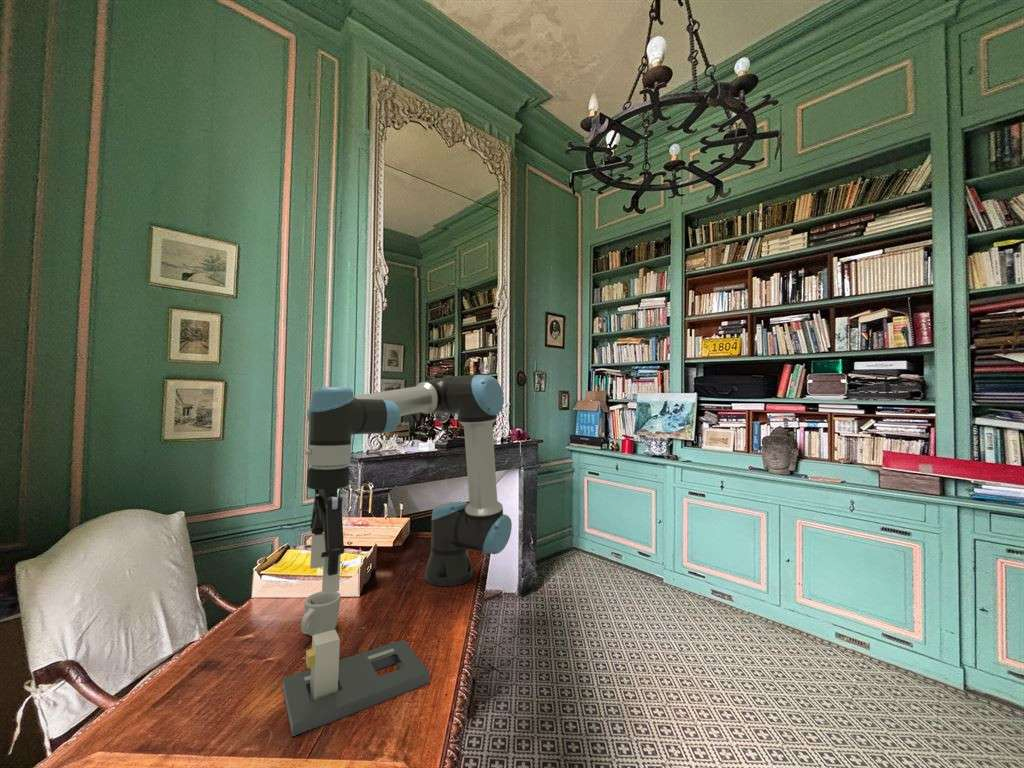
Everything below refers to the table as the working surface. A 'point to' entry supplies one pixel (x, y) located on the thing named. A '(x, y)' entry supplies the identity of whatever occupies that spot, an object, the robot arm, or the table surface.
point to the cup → (320, 613)
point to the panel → (354, 686)
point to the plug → (323, 664)
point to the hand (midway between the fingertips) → (323, 578)
